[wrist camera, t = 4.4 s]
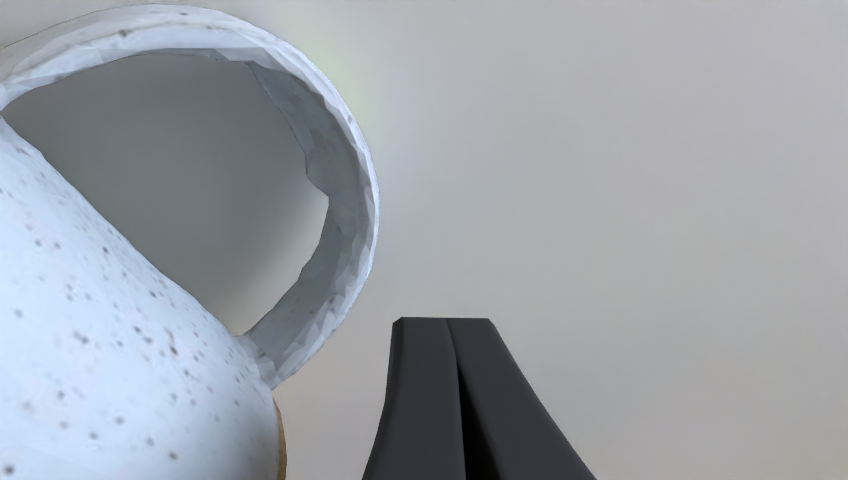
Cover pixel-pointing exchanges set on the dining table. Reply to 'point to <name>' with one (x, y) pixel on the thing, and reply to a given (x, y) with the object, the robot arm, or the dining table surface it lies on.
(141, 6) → the ceramic mug
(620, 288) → the dining table surface
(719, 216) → the dining table surface
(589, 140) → the dining table surface
